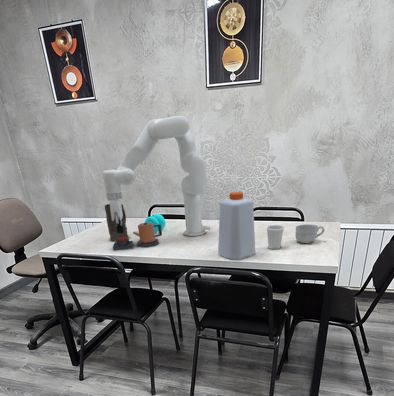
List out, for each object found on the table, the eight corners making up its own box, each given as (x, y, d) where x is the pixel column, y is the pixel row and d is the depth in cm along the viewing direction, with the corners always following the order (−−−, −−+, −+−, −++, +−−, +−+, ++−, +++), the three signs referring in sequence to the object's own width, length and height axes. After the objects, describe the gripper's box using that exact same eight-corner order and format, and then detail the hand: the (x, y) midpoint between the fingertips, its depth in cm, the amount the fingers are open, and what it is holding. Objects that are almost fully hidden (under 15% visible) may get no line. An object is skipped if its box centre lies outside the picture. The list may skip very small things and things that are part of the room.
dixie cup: (282, 244, 174) (284, 224, 169) (282, 250, 167) (284, 229, 162) (266, 244, 176) (266, 225, 171) (265, 250, 169) (266, 229, 164)
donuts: (167, 230, 214) (165, 213, 209) (158, 234, 207) (156, 217, 202) (153, 229, 218) (151, 212, 213) (144, 233, 211) (142, 216, 206)
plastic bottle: (214, 254, 168) (212, 193, 154) (238, 247, 175) (238, 188, 161) (234, 261, 158) (234, 197, 143) (258, 254, 165) (260, 191, 150)
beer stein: (124, 241, 198) (118, 205, 188) (106, 241, 200) (100, 205, 191) (133, 236, 211) (129, 201, 202) (117, 236, 213) (112, 202, 204)
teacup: (293, 244, 174) (294, 228, 170) (295, 238, 182) (297, 223, 178) (322, 245, 169) (324, 229, 165) (323, 239, 178) (325, 223, 174)
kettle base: (158, 240, 196) (158, 237, 195) (158, 246, 186) (158, 243, 185) (138, 242, 195) (137, 239, 194) (137, 248, 185) (136, 245, 185)
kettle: (158, 235, 197) (156, 218, 192) (165, 238, 191) (163, 221, 186) (131, 242, 189) (128, 224, 184) (138, 245, 183) (135, 227, 178)
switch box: (133, 244, 192) (132, 237, 190) (132, 248, 185) (131, 241, 183) (115, 246, 192) (114, 239, 190) (113, 250, 185) (112, 243, 183)
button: (126, 239, 188) (125, 236, 187) (125, 241, 185) (125, 238, 184) (119, 240, 188) (118, 237, 187) (118, 242, 185) (117, 239, 184)
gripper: (109, 194, 181) (115, 229, 190) (104, 199, 168) (111, 237, 178) (123, 193, 181) (128, 228, 191) (120, 198, 168) (126, 235, 178)
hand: (120, 232), depth 184 cm, fingers closed
